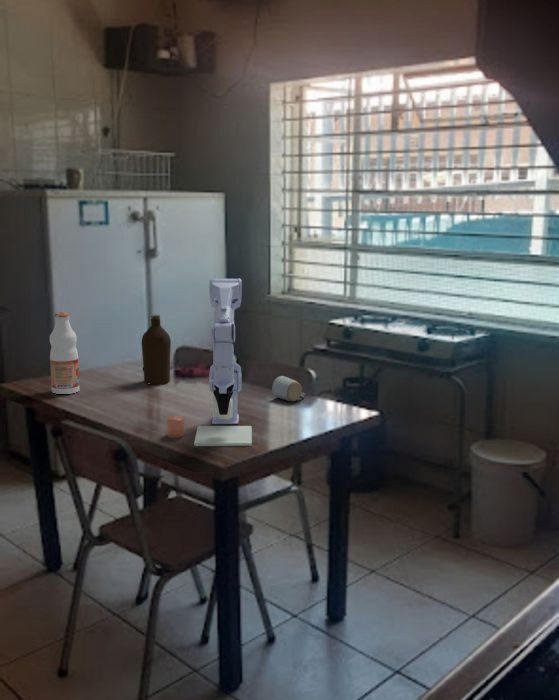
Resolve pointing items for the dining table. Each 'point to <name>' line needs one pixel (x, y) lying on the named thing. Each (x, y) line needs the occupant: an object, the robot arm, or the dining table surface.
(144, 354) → the olive oil
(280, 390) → the ceramic mug
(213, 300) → the robot arm
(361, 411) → the dining table surface
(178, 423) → the pink rounded piece
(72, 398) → the dining table surface
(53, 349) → the fruit juice
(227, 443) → the baseplate
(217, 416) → the off-white rounded cylinder
